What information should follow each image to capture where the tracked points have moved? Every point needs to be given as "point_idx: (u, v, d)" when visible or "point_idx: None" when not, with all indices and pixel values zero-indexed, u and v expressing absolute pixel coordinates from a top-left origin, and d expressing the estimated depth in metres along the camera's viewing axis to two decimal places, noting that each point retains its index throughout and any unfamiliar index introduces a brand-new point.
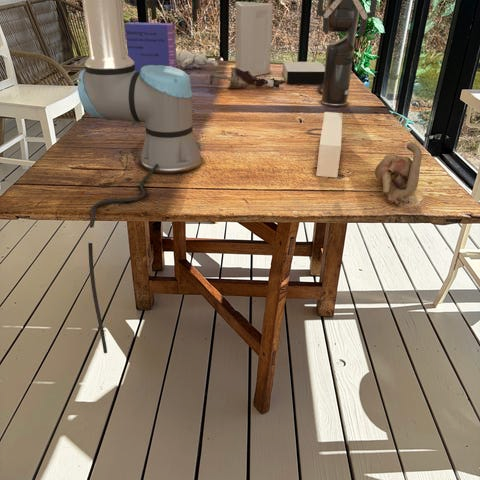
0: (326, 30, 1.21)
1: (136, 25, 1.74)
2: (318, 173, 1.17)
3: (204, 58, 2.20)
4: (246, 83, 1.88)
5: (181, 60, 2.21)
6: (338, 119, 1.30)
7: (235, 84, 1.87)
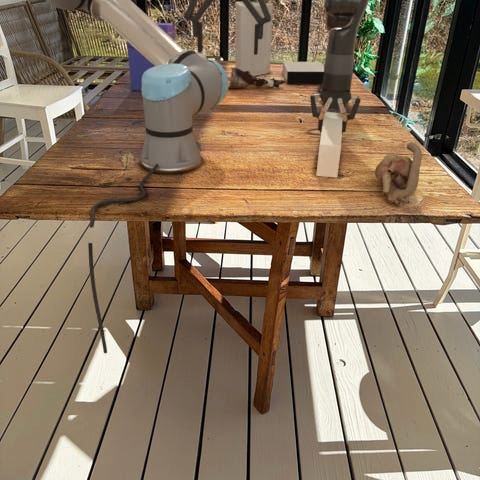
0: (321, 129, 1.34)
1: None
2: (318, 173, 1.17)
3: (204, 58, 2.20)
4: (246, 83, 1.88)
5: None
6: (338, 119, 1.30)
7: (235, 84, 1.87)
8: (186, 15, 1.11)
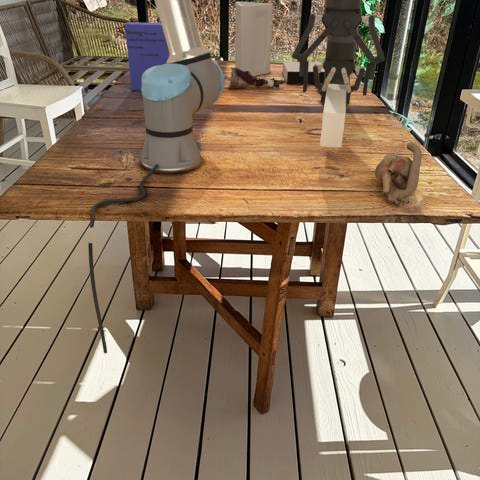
0: (324, 101, 1.30)
1: (136, 25, 1.74)
2: (321, 143, 1.13)
3: None
4: (246, 83, 1.88)
5: None
6: (342, 90, 1.26)
7: (235, 84, 1.87)
8: (294, 54, 1.07)
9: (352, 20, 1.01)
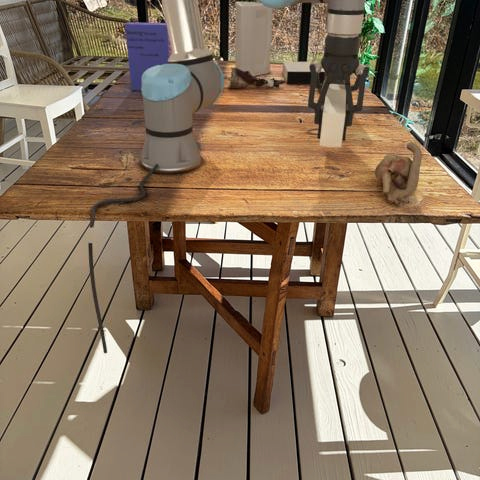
0: (324, 101, 1.30)
1: (136, 25, 1.74)
2: (321, 143, 1.13)
3: None
4: (246, 83, 1.88)
5: None
6: (342, 90, 1.26)
7: (235, 84, 1.87)
8: (309, 104, 1.12)
9: (350, 63, 1.05)
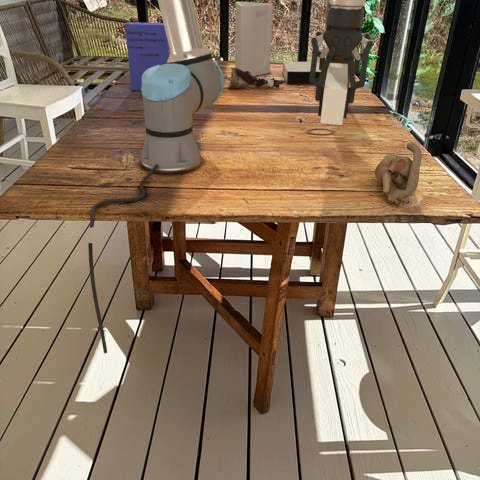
0: None
1: (136, 25, 1.74)
2: (322, 120, 1.11)
3: None
4: (246, 83, 1.88)
5: None
6: (344, 69, 1.24)
7: (235, 84, 1.87)
8: (310, 80, 1.09)
9: (353, 36, 1.03)
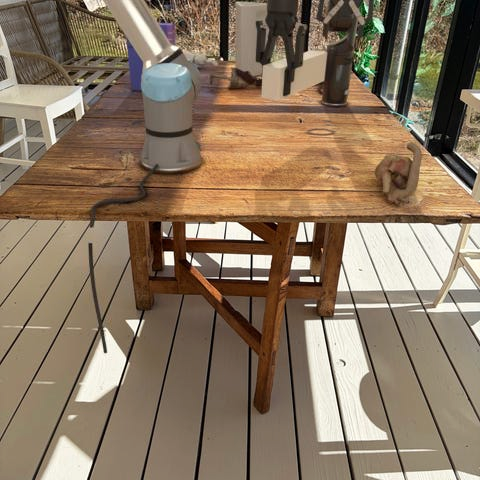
0: (326, 35, 1.27)
1: None
2: (262, 95, 1.24)
3: (204, 58, 2.20)
4: (246, 83, 1.88)
5: None
6: (314, 55, 1.33)
7: (235, 84, 1.87)
8: (256, 58, 1.23)
9: (287, 20, 1.15)
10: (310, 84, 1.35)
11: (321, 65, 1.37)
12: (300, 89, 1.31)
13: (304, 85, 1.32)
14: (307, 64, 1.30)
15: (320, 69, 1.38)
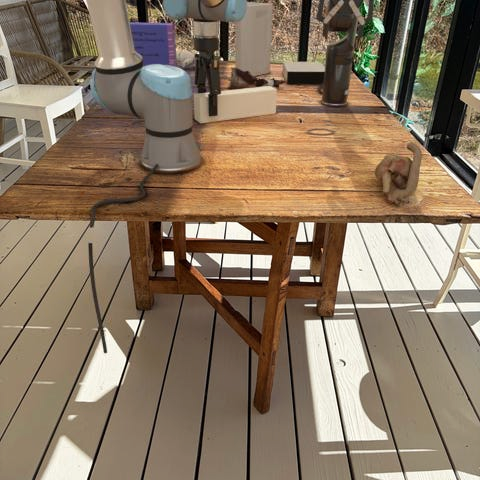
0: (326, 35, 1.27)
1: (136, 25, 1.74)
2: None
3: None
4: (246, 83, 1.88)
5: (181, 60, 2.21)
6: (257, 90, 1.56)
7: (235, 84, 1.87)
8: None
9: (206, 58, 1.43)
10: (251, 114, 1.59)
11: (268, 99, 1.59)
12: (235, 117, 1.56)
13: (241, 114, 1.57)
14: (244, 97, 1.54)
15: (267, 103, 1.59)
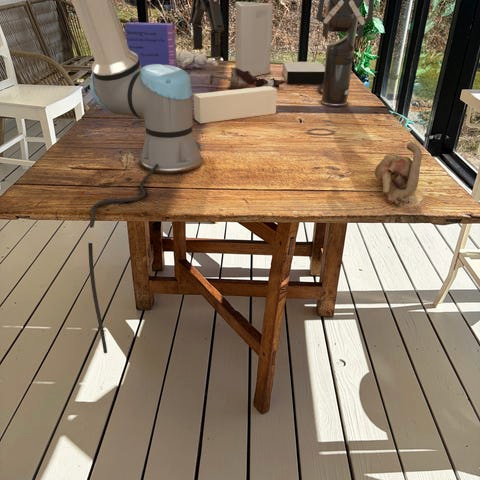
0: (326, 35, 1.27)
1: (136, 25, 1.74)
2: None
3: (204, 58, 2.20)
4: (246, 83, 1.88)
5: (181, 60, 2.21)
6: (257, 90, 1.56)
7: (235, 84, 1.87)
8: (190, 20, 1.47)
9: None
10: (251, 114, 1.59)
11: (268, 99, 1.59)
12: (235, 117, 1.56)
13: (241, 114, 1.57)
14: (244, 97, 1.54)
15: (267, 103, 1.59)
